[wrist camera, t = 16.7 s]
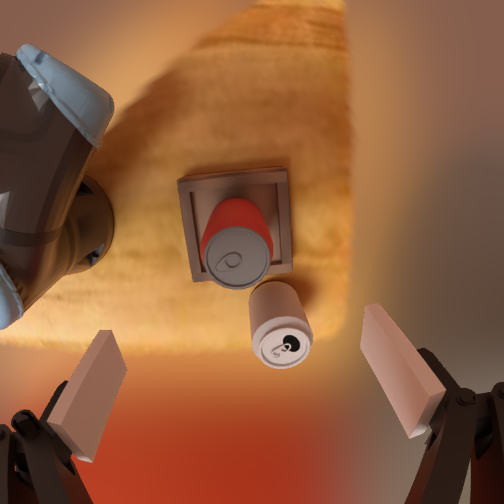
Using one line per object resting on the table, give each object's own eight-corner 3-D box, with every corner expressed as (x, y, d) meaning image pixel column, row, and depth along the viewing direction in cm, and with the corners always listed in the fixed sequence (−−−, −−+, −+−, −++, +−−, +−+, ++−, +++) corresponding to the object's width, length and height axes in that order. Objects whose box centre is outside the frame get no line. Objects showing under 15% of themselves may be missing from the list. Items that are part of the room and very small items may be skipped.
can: (305, 307, 44) (326, 355, 33) (263, 329, 45) (271, 382, 34) (283, 269, 42) (299, 313, 31) (238, 294, 43) (240, 343, 32)
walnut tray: (196, 268, 41) (191, 284, 36) (182, 176, 37) (174, 180, 32) (287, 259, 41) (294, 274, 36) (282, 166, 37) (288, 168, 32)
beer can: (199, 212, 34) (181, 244, 23) (248, 186, 34) (254, 205, 22) (225, 258, 37) (221, 307, 25) (273, 234, 36) (290, 274, 25)
